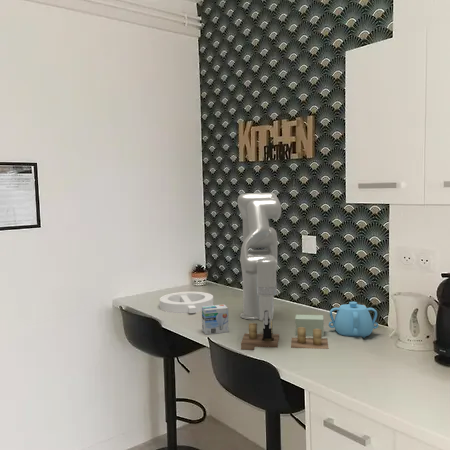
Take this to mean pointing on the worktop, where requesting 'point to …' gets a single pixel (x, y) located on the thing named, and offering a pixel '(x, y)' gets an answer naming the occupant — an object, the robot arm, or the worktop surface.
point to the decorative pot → (353, 320)
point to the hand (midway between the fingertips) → (267, 336)
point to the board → (309, 340)
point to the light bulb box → (215, 319)
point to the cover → (309, 323)
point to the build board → (257, 339)
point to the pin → (271, 338)
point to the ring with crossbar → (185, 302)
